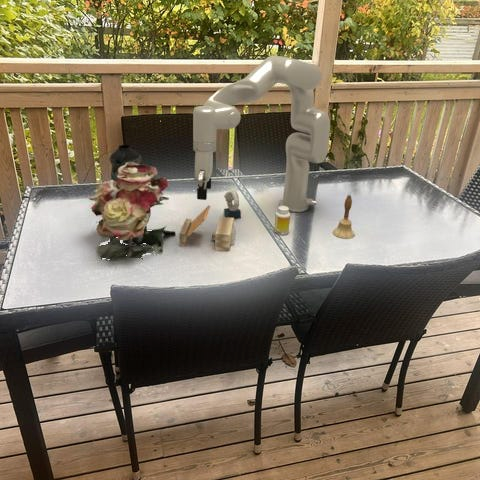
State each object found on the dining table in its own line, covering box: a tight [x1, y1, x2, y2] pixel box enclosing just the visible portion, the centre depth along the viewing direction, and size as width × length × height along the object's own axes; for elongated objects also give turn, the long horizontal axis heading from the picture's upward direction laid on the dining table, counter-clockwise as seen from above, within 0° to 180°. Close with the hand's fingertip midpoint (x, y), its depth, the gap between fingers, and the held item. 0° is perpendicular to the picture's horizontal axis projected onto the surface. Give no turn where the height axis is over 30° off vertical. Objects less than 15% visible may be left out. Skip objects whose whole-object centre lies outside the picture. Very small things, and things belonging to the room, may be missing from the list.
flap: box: [186, 205, 211, 239], centre depth 162 cm, size 10×11×1 cm
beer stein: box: [108, 144, 142, 189], centre depth 183 cm, size 16×19×25 cm
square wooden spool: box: [179, 216, 235, 252], centre depth 164 cm, size 18×14×6 cm
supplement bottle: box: [273, 205, 291, 236], centre depth 171 cm, size 6×6×10 cm
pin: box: [211, 227, 237, 246], centre depth 164 cm, size 8×4×5 cm, turn 85°
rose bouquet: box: [88, 162, 176, 262], centre depth 153 cm, size 26×29×30 cm
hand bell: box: [332, 194, 355, 240], centre depth 171 cm, size 8×8×16 cm
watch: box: [223, 190, 242, 220], centre depth 181 cm, size 6×8×11 cm
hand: (204, 193), depth 157 cm, fingers open, 9 cm apart
